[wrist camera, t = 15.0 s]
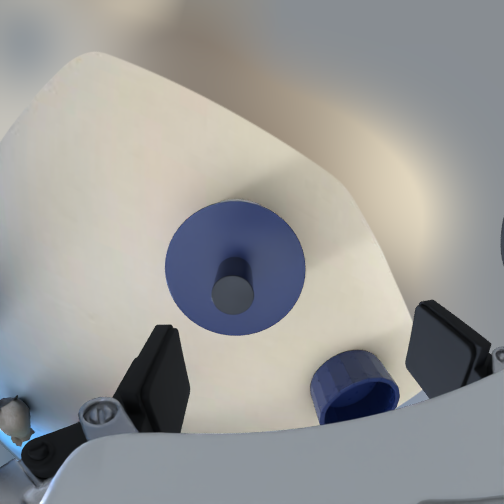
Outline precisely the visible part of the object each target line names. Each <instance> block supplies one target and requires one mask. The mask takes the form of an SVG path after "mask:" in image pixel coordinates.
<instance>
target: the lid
mask: <svg viewBox="0 0 504 504" xmlns="http://www.w3.org/2000/svg"><path fill="white" fill-rule="evenodd" d="M165 275H166V281H167V285H168V288H169V291H170V294H171V296H172V298H173V300H174V301H175V303H176V304H177V306H178V307H179V309H180V310H181V311H182V312H183V313H184V314H185V315H186V316H187V317H188V318H189V319H190V320H191V321H193V322H194V323H196V324H197V325H199V326H201V327H203V328H205V329H207V330H209V331H212V332H215V333H219V334H223V335H234V336H240V335H249V334H253V333H257V332H260V331H262V330H265V329H267V328H269V327H271V326H273V325H274V324H276V323H277V322H279V321H280V320H281V319H282V318H283V317H285V316H286V315H287V314H288V312H289V311H290V310H291V309H292V308H293V306H294V305H295V303H296V302H297V300H298V298H299V296H300V294H301V291H302V288H303V284H304V279H305V258H304V254H303V250H302V247H301V244H300V242H299V240H298V238H297V236H296V234H295V233H294V232H293V230H292V229H291V227H290V226H289V225H288V224H287V223H286V222H285V221H284V220H283V219H282V218H281V217H279V216H278V215H277V214H276V213H274V212H272V211H271V210H269V209H267V208H265V207H262V206H260V205H257V204H254V203H250V202H243V201H226V202H219V203H216V204H212V205H209V206H207V207H205V208H202V209H201V210H199V211H197V212H196V213H194V214H193V215H191V216H190V217H189V218H188V219H186V220H185V221H184V223H183V224H182V225H181V226H180V227H179V228H178V230H177V231H176V233H175V234H174V236H173V238H172V240H171V242H170V244H169V247H168V250H167V255H166V260H165Z"/></svg>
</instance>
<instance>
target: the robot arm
mask: <svg viewBox="0 0 504 504" xmlns="http://www.w3.org/2000/svg"><path fill="white" fill-rule="evenodd" d="M490 347H491V343H490V342H489V341H487V340H486V339H485V338H484V337H482V336H481V335H480V334H478V333H477V332H476V331H475V330H473V329H472V328H471V327H469V326H468V325H467V324H465V323H464V322H463V321H461V320H460V319H459V318H457V317H456V316H455V315H453V314H452V313H451V312H449V311H448V310H446V309H445V308H444V307H442V306H441V305H440V304H438V303H437V302H436V301H434V300H428V301H423V302H420V303H419V305H418V306H417V307H416V309H415V314H414V321H413V326H412V332H411V337H410V342H409V347H408V352H407V356H406V361H405V364H406V368H407V370H408V371H409V372H410V373H411V375H412V376H413V377H414V379H415V380H416V381H417V383H418V384H419V385H420V387H421V388H422V389H423V391H424V392H425V393H426V395H427V396H428V397H429V399H428V400H425V401H422V402H419V403H416V404H413V405H409V406H406V407H403V408H399V409H395V410H392V411H388V412H384V413H380V414H376V415H372V416H367V417H363V418H358V419H353V420H348V421H343V422H337V423H332V424H326V425H319V426H312V427H305V428H297V429H288V430H278V431H266V432H250V433H180V432H181V428H182V424H183V420H184V415H185V411H186V407H187V403H188V399H189V394H190V384H189V380H188V375H187V371H186V366H185V362H184V357H183V352H182V348H181V343H180V338H179V332H178V329H177V328H173V326H172V325H156V326H155V328H154V330H153V331H152V333H151V335H150V337H149V338H148V340H147V342H146V343H145V345H144V347H143V349H142V350H141V352H140V354H139V356H138V357H137V358H135V359H134V360H133V362H132V364H131V366H130V367H129V369H128V371H127V373H126V374H125V376H124V378H123V380H122V381H121V383H120V385H119V387H118V389H117V390H116V392H115V394H114V396H113V398H110V397H98V398H94V399H92V400H89V401H87V402H86V403H85V404H84V405H83V406H82V407H81V408H80V410H79V413H78V416H79V421H80V422H78V423H76V424H73V425H71V426H68V427H65V428H63V429H60V430H57V431H55V432H52V433H49V434H46V435H43V436H40V437H38V438H35V439H33V440H31V441H29V442H28V443H27V444H26V445H25V446H24V448H23V449H22V453H21V458H22V459H21V460H19V461H17V460H16V458H14V459H13V460H11V461H9V462H8V463H6V464H5V465H3V466H1V467H0V504H504V347H498V348H496V349H494V350H493V352H492V355H491V354H490V353H489V350H490Z"/></svg>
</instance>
